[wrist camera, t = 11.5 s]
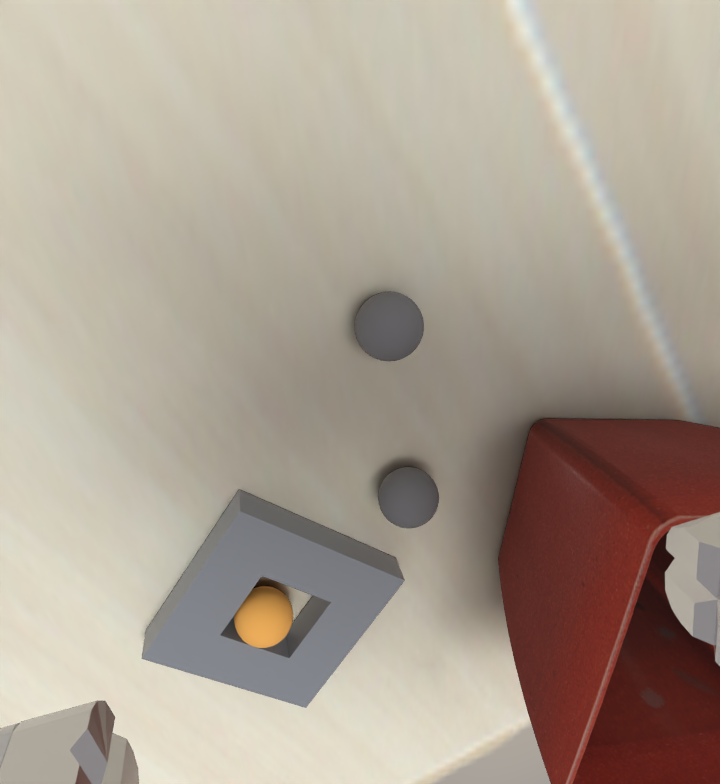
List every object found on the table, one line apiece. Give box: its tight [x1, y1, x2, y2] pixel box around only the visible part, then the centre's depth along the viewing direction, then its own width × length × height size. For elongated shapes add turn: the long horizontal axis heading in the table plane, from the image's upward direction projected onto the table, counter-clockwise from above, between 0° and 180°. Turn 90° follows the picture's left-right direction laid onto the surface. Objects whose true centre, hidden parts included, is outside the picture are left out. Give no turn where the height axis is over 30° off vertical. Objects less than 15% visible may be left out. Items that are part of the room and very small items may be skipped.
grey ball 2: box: [378, 467, 439, 528], centre depth 41 cm, size 4×4×4 cm
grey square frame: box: [142, 490, 405, 708], centre depth 44 cm, size 13×13×2 cm
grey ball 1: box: [355, 292, 424, 361], centre depth 36 cm, size 4×4×4 cm
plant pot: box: [499, 419, 720, 784], centre depth 39 cm, size 19×19×17 cm
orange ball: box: [234, 586, 293, 648], centre depth 43 cm, size 4×4×4 cm
